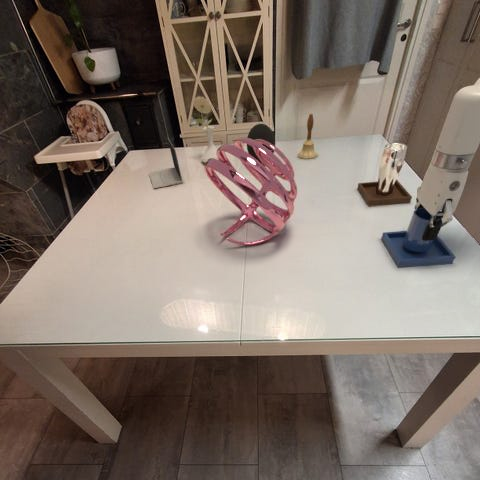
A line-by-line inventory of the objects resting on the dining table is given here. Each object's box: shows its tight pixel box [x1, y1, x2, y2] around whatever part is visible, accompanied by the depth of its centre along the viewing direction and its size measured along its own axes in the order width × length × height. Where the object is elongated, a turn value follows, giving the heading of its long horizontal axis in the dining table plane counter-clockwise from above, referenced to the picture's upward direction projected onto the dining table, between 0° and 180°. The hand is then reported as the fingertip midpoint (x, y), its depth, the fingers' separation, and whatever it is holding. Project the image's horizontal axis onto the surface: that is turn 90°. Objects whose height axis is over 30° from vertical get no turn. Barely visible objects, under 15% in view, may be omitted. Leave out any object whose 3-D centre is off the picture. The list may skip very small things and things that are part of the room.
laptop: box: [148, 137, 183, 189], centre depth 127 cm, size 18×12×13 cm
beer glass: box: [374, 142, 408, 198], centre depth 98 cm, size 7×7×15 cm
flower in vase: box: [192, 95, 218, 164], centre depth 132 cm, size 13×11×25 cm
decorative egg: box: [246, 123, 276, 164], centre depth 129 cm, size 12×12×15 cm
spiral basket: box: [203, 137, 298, 246], centre depth 85 cm, size 28×28×27 cm
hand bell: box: [297, 113, 318, 160], centre depth 129 cm, size 8×8×16 cm
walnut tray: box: [357, 179, 413, 207], centre depth 103 cm, size 14×14×2 cm
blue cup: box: [403, 207, 442, 252], centre depth 77 cm, size 7×7×9 cm
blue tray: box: [381, 230, 456, 268], centre depth 81 cm, size 14×14×2 cm
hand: (422, 231), depth 77 cm, fingers closed on blue cup, 6 cm apart
